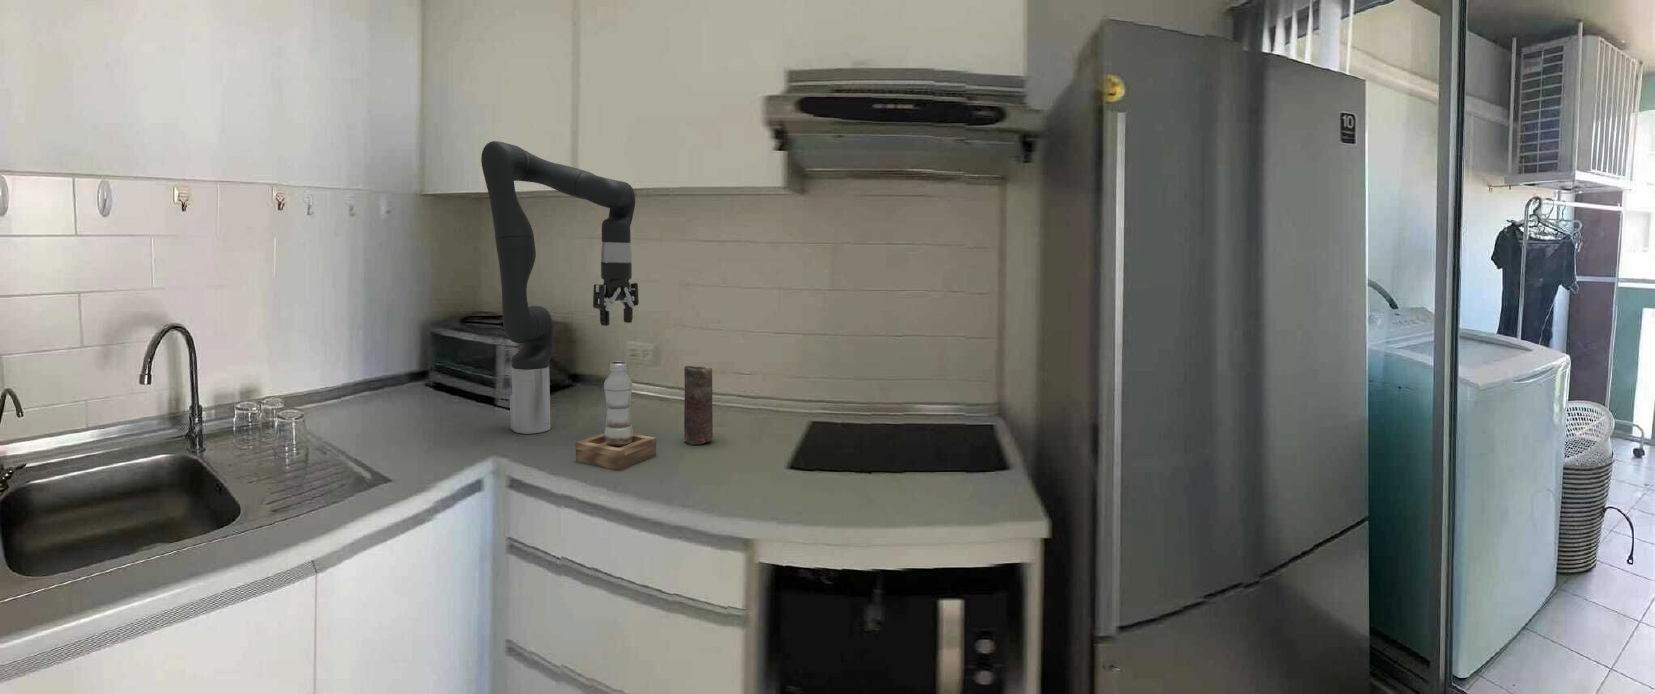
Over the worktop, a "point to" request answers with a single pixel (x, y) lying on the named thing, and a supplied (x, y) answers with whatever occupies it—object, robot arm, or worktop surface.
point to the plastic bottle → (618, 406)
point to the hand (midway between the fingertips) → (616, 324)
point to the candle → (698, 405)
